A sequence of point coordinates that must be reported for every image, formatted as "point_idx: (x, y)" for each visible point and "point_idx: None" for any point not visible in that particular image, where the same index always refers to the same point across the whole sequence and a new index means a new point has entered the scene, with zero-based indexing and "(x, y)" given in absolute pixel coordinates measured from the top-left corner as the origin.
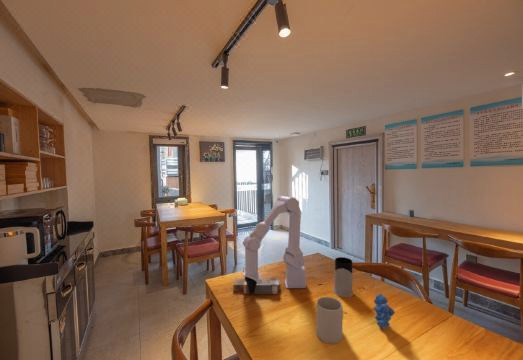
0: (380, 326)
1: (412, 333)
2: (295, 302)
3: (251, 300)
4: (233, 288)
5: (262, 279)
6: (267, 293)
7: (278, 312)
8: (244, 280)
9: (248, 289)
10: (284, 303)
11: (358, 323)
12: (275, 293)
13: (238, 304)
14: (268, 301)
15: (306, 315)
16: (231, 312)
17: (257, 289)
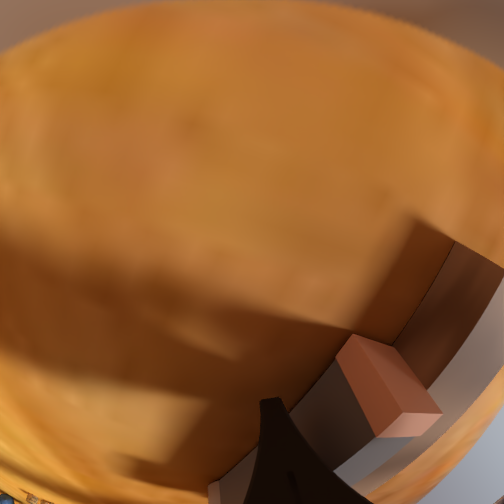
0: (1, 495)
1: None
2: (105, 494)
3: (184, 366)
4: (475, 254)
5: (376, 486)
6: (233, 470)
7: (14, 420)
8: (474, 389)
9: (338, 407)
10: (99, 474)
11: (11, 490)
12: (208, 491)
13: (149, 202)
14: (132, 445)
15: (16, 463)
16: (31, 83)
17: None
